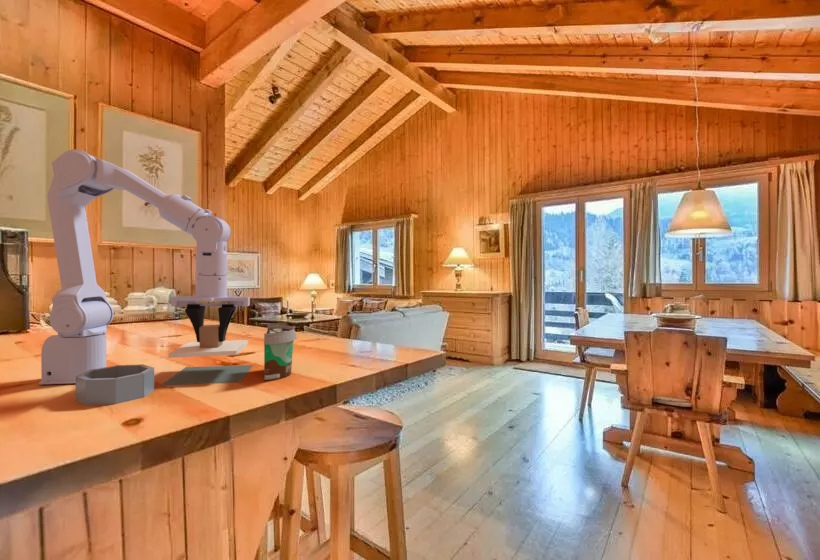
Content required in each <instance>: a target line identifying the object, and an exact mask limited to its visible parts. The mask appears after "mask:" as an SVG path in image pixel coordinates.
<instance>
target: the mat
mask: <svg viewBox="0 0 820 560" xmlns="http://www.w3.org/2000/svg"><path fill="white" fill-rule="evenodd" d="M253 366H254V365H253V364H245V365H244V364H239V365H218V366H217V365H215V366H213V365H212V366H186V367H183V368H182V369H181V370H180V371H178V372H177V373H176V374H174V375H173V376H171V377H170V378H169V379H167V380H166V381H165V382H162V384H161V386H183V385H207V384H226V383H227V384H228V383H229V384H230V383H231V384H233V383H242V382H243V380H244V378H245V377H246V376H247V374H248V373H249V372H250V371H251V369H252V368H253Z"/></svg>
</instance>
